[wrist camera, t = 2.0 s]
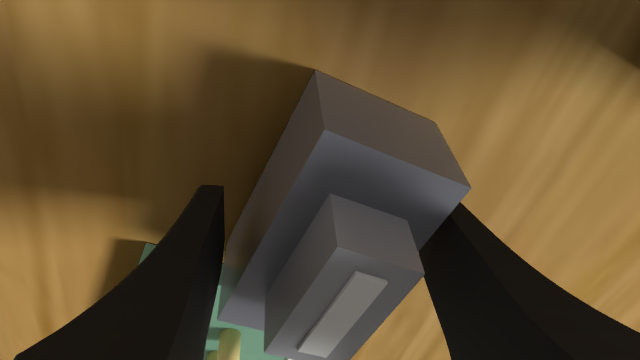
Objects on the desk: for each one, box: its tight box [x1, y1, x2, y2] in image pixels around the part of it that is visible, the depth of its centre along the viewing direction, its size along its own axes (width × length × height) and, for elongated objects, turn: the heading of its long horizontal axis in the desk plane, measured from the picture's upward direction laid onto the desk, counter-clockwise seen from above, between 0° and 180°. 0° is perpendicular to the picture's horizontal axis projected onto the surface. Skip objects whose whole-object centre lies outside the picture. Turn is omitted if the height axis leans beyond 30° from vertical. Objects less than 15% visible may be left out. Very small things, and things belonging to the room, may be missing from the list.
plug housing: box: [217, 70, 471, 360], centre depth 13 cm, size 4×7×5 cm, turn 154°
